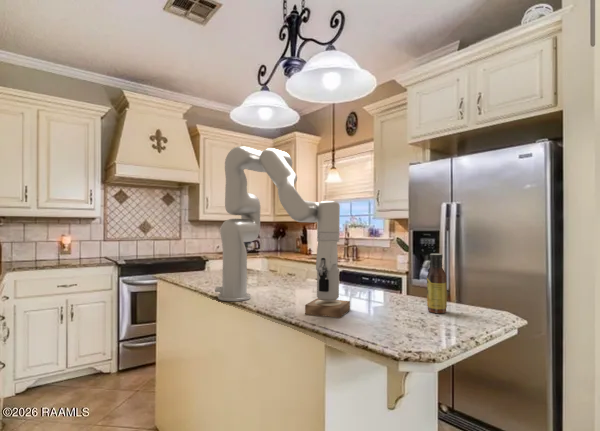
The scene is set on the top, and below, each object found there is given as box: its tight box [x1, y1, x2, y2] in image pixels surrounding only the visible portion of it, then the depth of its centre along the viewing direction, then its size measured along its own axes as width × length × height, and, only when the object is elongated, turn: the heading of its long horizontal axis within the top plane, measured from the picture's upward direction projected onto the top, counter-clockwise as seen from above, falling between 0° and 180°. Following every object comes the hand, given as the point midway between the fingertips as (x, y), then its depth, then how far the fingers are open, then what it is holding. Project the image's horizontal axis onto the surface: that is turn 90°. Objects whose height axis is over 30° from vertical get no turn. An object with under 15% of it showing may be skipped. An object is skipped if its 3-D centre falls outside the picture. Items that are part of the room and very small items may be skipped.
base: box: [304, 297, 351, 318], centre depth 125 cm, size 12×12×3 cm
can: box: [316, 264, 340, 301], centre depth 125 cm, size 8×8×12 cm
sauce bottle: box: [426, 253, 448, 314], centre depth 126 cm, size 7×6×20 cm
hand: (327, 289), depth 125 cm, fingers closed on can, 7 cm apart
